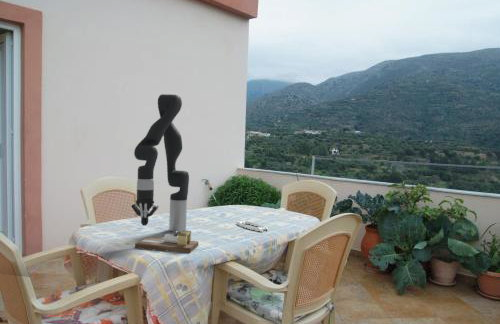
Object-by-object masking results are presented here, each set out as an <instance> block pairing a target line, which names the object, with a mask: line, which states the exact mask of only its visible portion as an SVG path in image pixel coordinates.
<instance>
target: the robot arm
mask: <svg viewBox="0 0 500 324" xmlns="http://www.w3.org/2000/svg"><path fill="white" fill-rule="evenodd" d="M182 101H183V100H182V98H181V96H180V95H178V94H170V93H169V94H168V93H167V94H163V93H162V94H160V95H159V96H158V98H157V109H158V113H159V118H158V119H157V120H156V121H154V122H153V124H151V126H150V127H149V129H148V131H147V133H146V135H145V137H143V138H142V140H141V141H140V142H139V143H138V144H137V145H136V146H135V147H134V152H133V156H134V158H135V159H136V160H138V161H145V163H144V165H140V166H138V168H137V181H136V200H135V203H134V204H132V205H131V208H132V210H133V212H135V215H136V216H137V217H140V224H141V225H142V226H147V225H148V224H149V218H150V217H152V216H153V215H154V214H155V212H156V211H157V210H158V208H159V205H157V204H155V201H154V192H155V191H154V188H155V186H154V185H155V183H154V171H155V165H156V163H157V159H158V155H159V152H158V149H157V146H159V144H160V143H161V141H162V139H163V143H164V150H165V157H166V169H167V170H166V174H167V183H168V185H169V186H170V187H173V188H179V190H178V191H177V192H174V193H171V194H170V197H169V219H168V220H169V221H168V222H169V223H168V230H169V232H173V233H174V231H178V233H180V232H181V231H183V230H184V231H187V213H188V211H187V209H188V208H187V207H188V195H189V184H190V183H189V182H190V175H189V172H188V171H186V170H177V169H176V165H177V164H176V162H177V160H178V158H179V156H180V154H181V153H182V150H183V140H182V135H181V133H180V131H179V130H178V128H177V127H176V125H175V124H174V122H173V121H174V120H175V118H176V117H177V115H178V114H179V113H180V111H181V109H182V105H183V102H182Z"/></svg>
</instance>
